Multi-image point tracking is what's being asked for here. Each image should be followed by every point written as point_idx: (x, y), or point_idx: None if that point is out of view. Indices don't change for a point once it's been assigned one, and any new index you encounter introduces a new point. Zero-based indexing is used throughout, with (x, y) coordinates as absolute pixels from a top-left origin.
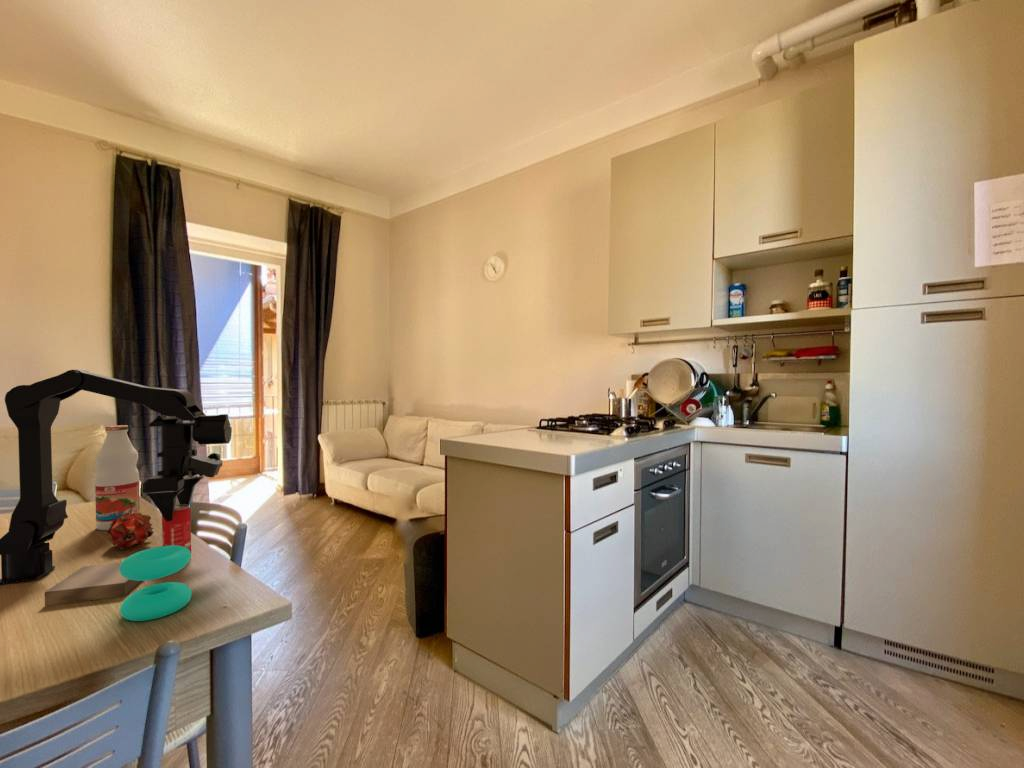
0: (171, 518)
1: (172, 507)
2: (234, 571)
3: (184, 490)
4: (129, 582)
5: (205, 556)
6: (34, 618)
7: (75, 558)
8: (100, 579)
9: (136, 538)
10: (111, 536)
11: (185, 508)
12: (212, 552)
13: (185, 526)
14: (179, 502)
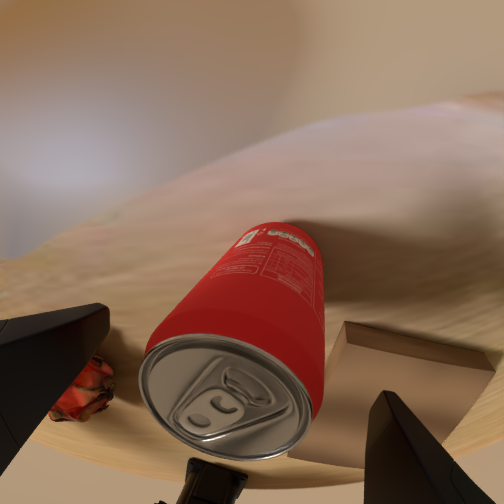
0: (399, 402)
1: (447, 459)
2: (497, 99)
3: (11, 394)
4: (477, 363)
5: (289, 170)
6: (455, 445)
7: (139, 432)
8: (427, 421)
9: (96, 368)
10: (97, 412)
11: (280, 360)
12: (252, 148)
13: (306, 290)
14: (81, 371)
